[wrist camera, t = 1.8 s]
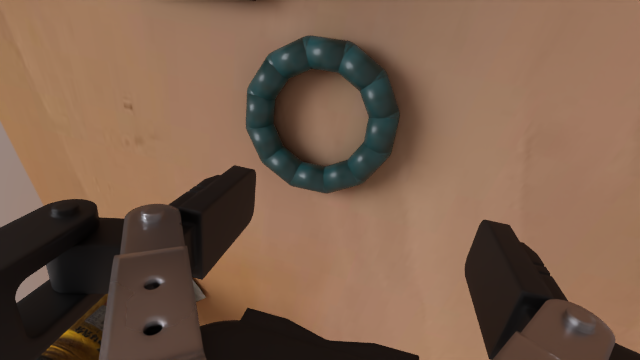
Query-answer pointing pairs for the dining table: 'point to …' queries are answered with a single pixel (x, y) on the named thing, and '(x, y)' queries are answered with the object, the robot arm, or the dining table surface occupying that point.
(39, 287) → the robot arm
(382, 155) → the ring
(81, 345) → the condiment
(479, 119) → the dining table surface
